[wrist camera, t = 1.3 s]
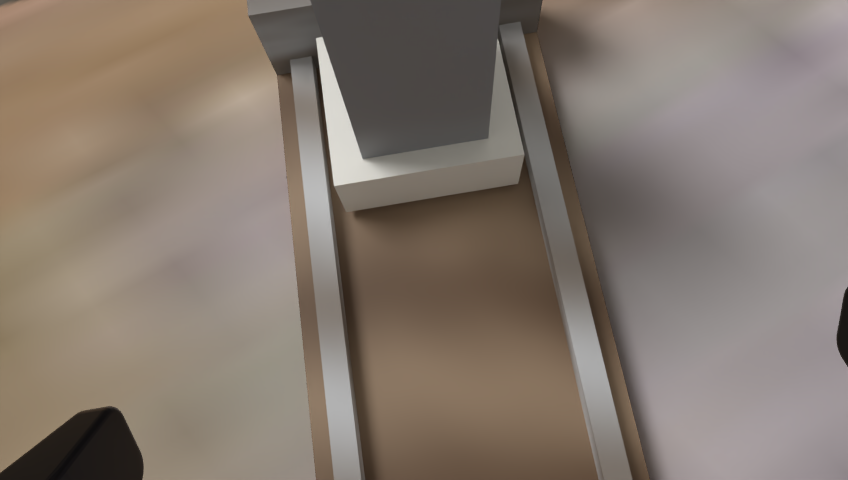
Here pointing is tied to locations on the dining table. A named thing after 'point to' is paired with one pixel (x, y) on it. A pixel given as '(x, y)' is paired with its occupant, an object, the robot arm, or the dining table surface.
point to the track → (450, 299)
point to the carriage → (415, 99)
